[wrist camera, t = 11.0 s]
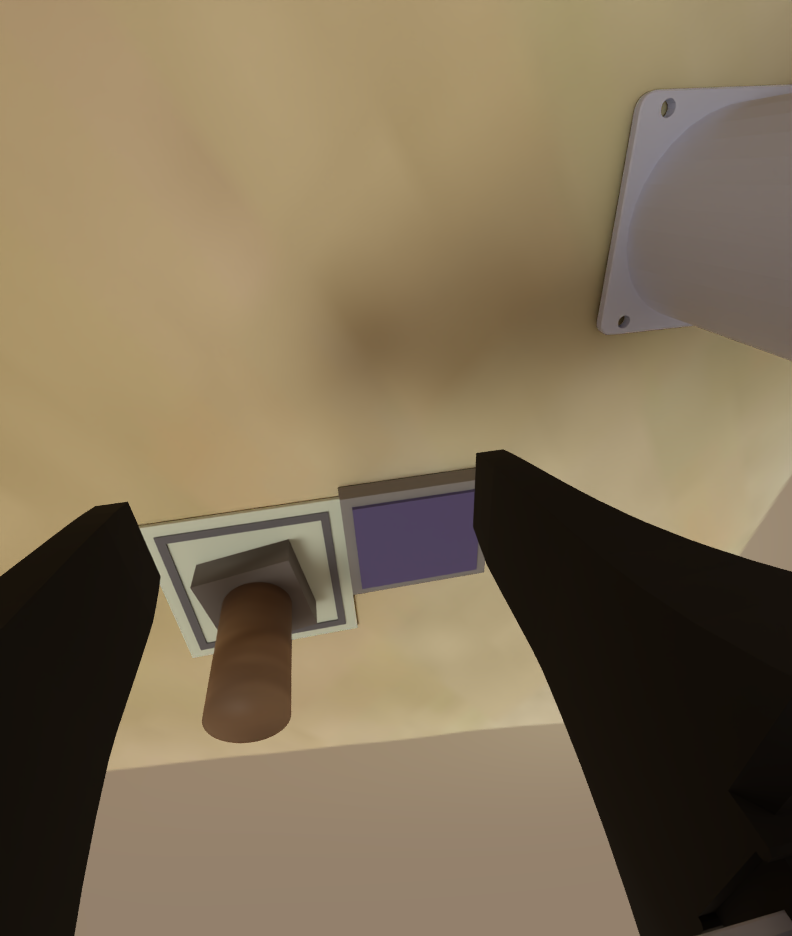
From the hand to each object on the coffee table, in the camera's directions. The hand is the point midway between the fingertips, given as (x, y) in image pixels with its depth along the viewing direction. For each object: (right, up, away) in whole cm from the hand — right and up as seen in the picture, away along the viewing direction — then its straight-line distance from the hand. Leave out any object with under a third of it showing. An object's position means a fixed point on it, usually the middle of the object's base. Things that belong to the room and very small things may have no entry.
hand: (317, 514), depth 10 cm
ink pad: (+3, -2, +14) cm, 14 cm away
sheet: (-5, -5, +14) cm, 15 cm away
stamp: (-5, -5, +13) cm, 15 cm away
